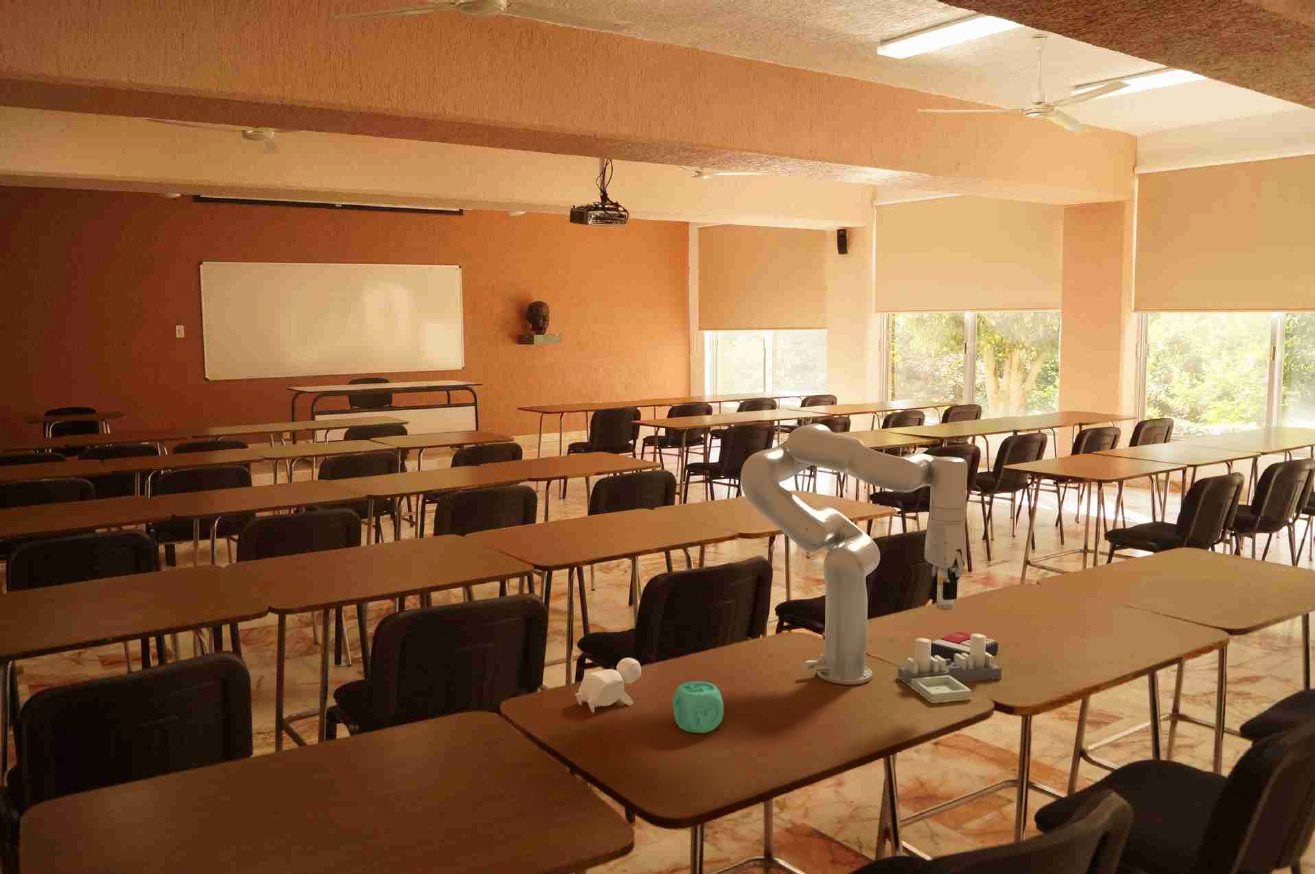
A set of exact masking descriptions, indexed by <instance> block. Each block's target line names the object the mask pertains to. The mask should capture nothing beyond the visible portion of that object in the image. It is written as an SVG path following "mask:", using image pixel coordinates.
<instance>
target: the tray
mask: <svg viewBox="0 0 1315 874" xmlns="http://www.w3.org/2000/svg"><path fill="white" fill-rule="evenodd" d="M911 687H913V688H915V690H917V691H918V692H919V693H921V694H922V695H924V697H926V698H927V699H929V700H930V701H931V702H936V701H944V700H951V699H966V698H971V699H972V692H973V691H972V690H971V689H970V688H969V687H967V686H966V685H964V684H962V682H958V681H957V680H955V679H954V678H952V677H951V676H949V675H946V676H935V677H924V678H913V679H911ZM911 687H910V688H911ZM936 688H937V689H936ZM938 688H939V689H938ZM924 697H923V698H924Z"/></svg>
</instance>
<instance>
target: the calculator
mask: <svg viewBox="0 0 1315 874" xmlns="http://www.w3.org/2000/svg"><path fill="white" fill-rule="evenodd" d="M971 634H972V633H967V632H964V631H957V632H954V633H951V634H948V635H946V636H943V637H940V638H939V639H936V640H933V641H931V656H932V657H933V658H934V656H936V655H938V656H940V657H941V658H943V659H951V662H954V654H960V655H961V653H966V654H968V655H969V656H970V637H971ZM996 641H997V640H996V639H992V638H987V637H986V648H985V652H987V653H989V654H991V655H993V654H995V655H996V653H997V652H999V642H996ZM997 654H998V653H997ZM993 656H994V655H993Z"/></svg>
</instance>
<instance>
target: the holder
mask: <svg viewBox="0 0 1315 874" xmlns="http://www.w3.org/2000/svg"><path fill="white" fill-rule="evenodd" d="M970 634H971V637H970V656H969V655H968V654H966V653H961V655H960V654H954V662H951V659H943V658H941V657H940V656H938V655H936V656H934V658H933V657H932V656H931V642H932V640H931V639H928V638H925V637H924V638H923V637H918V638H916V639H915V651H914V656H915V657H914V659H913V658H912V657H906V666H898V667H897V669H898V670H897V678H898V677H899V678H901V679H902V680H904V681H905V682H907V683H908V684H910V685H911V679H913V678H924V677H935V676H946V675H949V676H951V677H952V678H954V679H955V680H957V681H958V682H960V683H968V682H976V681H975V680H980V681H987V680H986V679H991V680H993V679H992V678H1001V679H1002V671H1003V670H1002V667H1000V666H999V665H997V664H996V663H994V658H995V657H994V655H993V656H992V655H991V654H989V653H987V652H985V648H986V638H987V636H986V635H984V634H981V633H970ZM899 678H898V679H899ZM901 679H900V680H901ZM902 680H901V681H902ZM905 682H904V683H905Z"/></svg>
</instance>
